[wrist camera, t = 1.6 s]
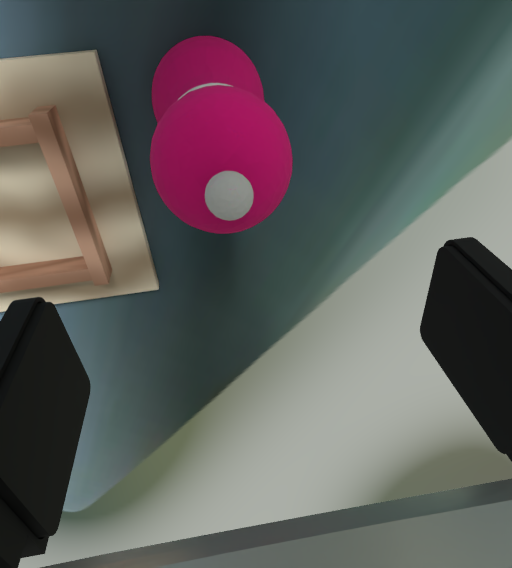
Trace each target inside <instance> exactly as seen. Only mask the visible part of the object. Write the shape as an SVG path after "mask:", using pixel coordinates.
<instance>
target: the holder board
mask: <svg viewBox="0 0 512 568" xmlns="http://www.w3.org/2000/svg"><path fill="white" fill-rule="evenodd" d="M152 290H159V281H158V278H157V274H156V270H155V266H154V263H153V259H152V255H151V251H150V248H149V244H148V240H147V237H146V233H145V229H144V225H143V222H142V218H141V214H140V210H139V207H138V203H137V199H136V195H135V192H134V188H133V184H132V180H131V177H130V173H129V169H128V165H127V162H126V158H125V154H124V151H123V147H122V143H121V139H120V136H119V132H118V128H117V124H116V121H115V117H114V113H113V109H112V106H111V102H110V98H109V94H108V91H107V87H106V83H105V80H104V76H103V72H102V68H101V65H100V61H99V57H98V53H97V50H87V51H77V52H66V53H56V54H46V55H35V56H25V57H14V58H4V59H0V312H3V311H6V310H7V309H8V307H9V305H10V303H11V302H12V301H14V300H19V299H27V298H34V297H42V298H43V299H44V300H45V301H46V302H52V303H53V304H60V303H67V302H74V301H81V300H88V299H95V298H102V297H109V296H117V295H124V294H131V293H138V292H145V291H152Z"/></svg>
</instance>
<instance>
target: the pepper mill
mask: <svg viewBox="0 0 512 568" xmlns="http://www.w3.org/2000/svg"><path fill="white" fill-rule="evenodd" d="M152 105H153V110H154V115H155V118H156V120H157V123H158V124H157V127H156V129H155V132H154V134H153V137H152V142H151V151H150V165H151V172H152V177H153V181H154V184H155V187H156V189H157V192H158V193H159V195H160V197H161V198H162V200H163V202H164V203H165V204H166V205H167V207H168V208H169V209H170V210H171V211H172V212H173V213H174V214H175V215H176V216H177V217H178V218H180V219H181V220H182V221H183V222H185V223H187V224H188V225H190V226H192V227H195V228H198V229H200V230H203V231H206V232H211V233H217V234H228V233H235V232H240V231H243V230H246V229H248V228H251V227H253V226H255V225H256V224H258V223H260V222H261V221H263V220H264V219H265V218H267V217H268V216H269V215H270V214H271V213H272V212H273V211H274V210H275V209H276V207H277V206H278V205H279V204H280V202H281V200H282V199H283V197H284V195H285V193H286V191H287V189H288V186H289V182H290V178H291V174H292V163H293V159H292V151H291V145H290V141H289V138H288V134H287V132H286V130H285V127H284V125H283V123H282V122H281V120H280V119H279V118H278V116H277V115H276V113H275V112H274V110H273V109H272V108H271V107H270V106H269V105H268V104H267V103H266V102H264V94H263V87H262V84H261V81H260V77H259V74H258V72H257V70H256V68H255V66H254V64H253V63H252V61H251V60H250V58H249V57H248V56H247V55H246V54H245V53H244V52H243V51H242V50H241V49H240V48H239V47H237V46H236V45H234V44H233V43H231V42H229V41H227V40H225V39H222V38H219V37H214V36H195V37H192V38H188V39H185V40H183V41H181V42H179V43H178V44H176V45H175V46H174V47H172V48H171V49H170V50H169V51H168V52H167V53H166V54H165V55H164V57H163V58H162V59H161V61H160V63H159V65H158V67H157V69H156V71H155V74H154V77H153V83H152Z"/></svg>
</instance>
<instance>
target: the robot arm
mask: <svg viewBox="0 0 512 568" xmlns="http://www.w3.org/2000/svg"><path fill="white" fill-rule="evenodd" d="M420 333H421V337H422V339H423V341H424V343H425V344H426V346H427V347H428V349H429V350H430V352H431V353H432V355H433V356H434V357H435V359H436V360H437V362H438V363H439V365H440V366H441V368H442V369H443V371H444V372H445V374H446V375H447V377H448V378H449V380H450V381H451V383H452V384H453V386H454V387H455V388H456V390H457V391H458V393H459V394H460V396H461V397H462V399H463V400H464V402H465V403H466V405H467V406H468V407H469V409H470V410H471V412H472V413H473V415H474V416H475V418H476V419H477V421H478V422H479V424H480V425H481V426H482V428H483V429H484V431H485V432H486V434H487V435H488V437H489V438H490V440H491V441H492V443H493V444H494V446H495V447H496V448H497V449H498V451H500V452H501V453H503V454H507V456H508V457H509V459H510V460H511V461H512V270H511V269H510V268H509V267H508V266H507V265H506V264H505V263H503V262H502V261H501V260H500V259H499V258H498V257H496V256H495V255H494V254H493V253H492V252H490V251H489V250H488V249H487V248H486V247H485V246H483V245H482V244H481V243H480V242H479V241H478V240H476V239H475V238H473V237H469V238H461V239H454V240H448V241H447V242H446V243H445V244H444V246H443V247H441V248H440V249H439V250H438V252H437V256H436V261H435V265H434V269H433V274H432V278H431V282H430V287H429V291H428V296H427V300H426V305H425V308H424V313H423V317H422V321H421V326H420ZM89 395H90V381H89V378H88V375H87V373H86V371H85V369H84V367H83V365H82V363H81V361H80V359H79V356H78V354H77V352H76V350H75V348H74V346H73V344H72V342H71V339H70V337H69V335H68V333H67V331H66V329H65V327H64V325H63V323H62V320H61V318H60V316H59V314H58V312H57V310H56V308H55V306H54V304H53V303H52V302H46V301H45V300H44V299H43V298H42V297H34V298H27V299H19V300H14V301H12V302H11V303H10V305H9V307H8V309H7V310H6V312H5V314H4V316H3V318H2V319H1V321H0V568H18V565H19V562H20V558H24V557H29V556H35V555H40V554H45V550H46V546H47V542H48V538H49V536H53V535H54V534H55V533H56V531H57V529H58V526H59V522H60V518H61V514H62V510H63V505H64V501H65V497H66V493H67V488H68V484H69V480H70V476H71V471H72V467H73V463H74V459H75V455H76V450H77V446H78V442H79V438H80V433H81V429H82V425H83V421H84V416H85V412H86V408H87V404H88V399H89ZM41 568H512V479H508V480H502V481H497V482H491V483H486V484H480V485H474V486H469V487H463V488H458V489H452V490H447V491H441V492H436V493H430V494H424V495H419V496H413V497H408V498H402V499H397V500H391V501H386V502H381V503H375V504H369V505H364V506H359V507H353V508H348V509H342V510H338V511H332V512H326V513H321V514H315V515H310V516H305V517H300V518H294V519H288V520H283V521H278V522H273V523H267V524H261V525H256V526H251V527H246V528H240V529H235V530H230V531H224V532H219V533H214V534H209V535H204V536H198V537H193V538H188V539H182V540H177V541H172V542H167V543H161V544H156V545H151V546H146V547H140V548H135V549H130V550H125V551H120V552H114V553H109V554H104V555H99V556H94V557H89V558H85V559H80V560H75V561H70V562H66V563H60V564H56V565H51V566H46V567H41Z"/></svg>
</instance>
